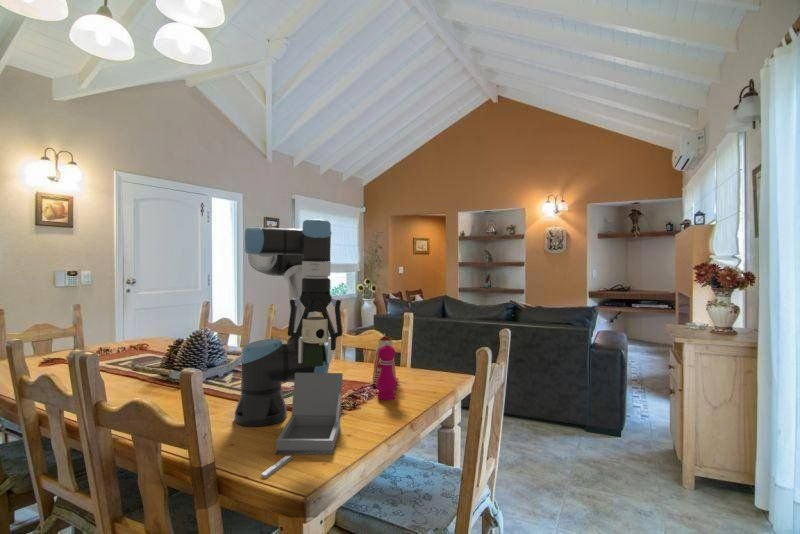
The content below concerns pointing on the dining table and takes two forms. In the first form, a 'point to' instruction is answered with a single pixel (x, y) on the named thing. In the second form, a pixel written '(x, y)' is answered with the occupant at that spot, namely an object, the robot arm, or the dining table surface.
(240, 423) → the robot arm
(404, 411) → the dining table surface
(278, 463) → the rod
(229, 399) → the dining table surface
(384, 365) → the pepper mill
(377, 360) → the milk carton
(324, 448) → the case
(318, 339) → the character mug
